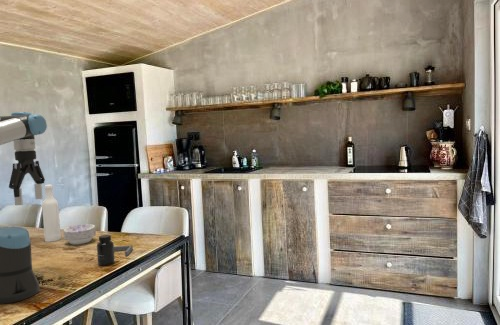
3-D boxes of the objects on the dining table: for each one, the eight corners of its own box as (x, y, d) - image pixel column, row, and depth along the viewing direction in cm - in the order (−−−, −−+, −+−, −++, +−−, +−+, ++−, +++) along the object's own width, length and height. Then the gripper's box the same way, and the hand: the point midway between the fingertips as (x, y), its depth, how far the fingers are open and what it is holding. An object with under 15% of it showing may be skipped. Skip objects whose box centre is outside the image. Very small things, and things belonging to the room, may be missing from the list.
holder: (136, 244, 193) (136, 238, 193) (127, 255, 175) (127, 249, 175) (98, 246, 192) (97, 240, 192) (85, 258, 174) (84, 251, 174)
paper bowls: (69, 248, 192) (67, 232, 191) (61, 242, 204) (59, 227, 203) (100, 242, 201) (99, 227, 201) (91, 236, 213) (89, 222, 212)
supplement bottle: (97, 267, 162) (95, 238, 161) (98, 261, 169) (96, 234, 168) (114, 264, 164) (112, 237, 163) (115, 259, 171) (113, 233, 170)
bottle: (54, 242, 204) (49, 185, 202) (41, 242, 206) (36, 186, 204) (64, 238, 212) (60, 183, 210) (51, 237, 214) (47, 183, 211)
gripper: (14, 151, 145) (19, 207, 147) (51, 148, 170) (54, 196, 172) (-6, 152, 145) (-1, 208, 147) (34, 149, 170) (38, 197, 172)
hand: (29, 201), depth 159 cm, fingers open, 13 cm apart
